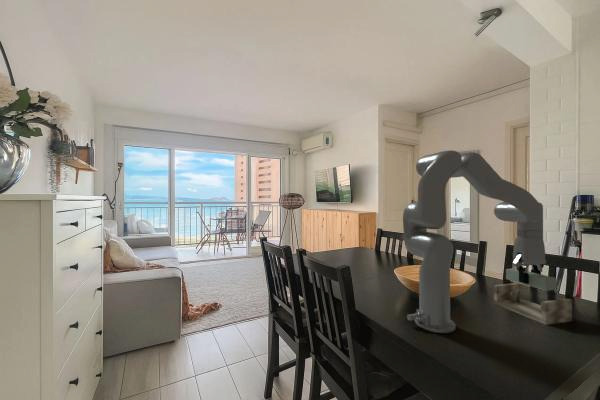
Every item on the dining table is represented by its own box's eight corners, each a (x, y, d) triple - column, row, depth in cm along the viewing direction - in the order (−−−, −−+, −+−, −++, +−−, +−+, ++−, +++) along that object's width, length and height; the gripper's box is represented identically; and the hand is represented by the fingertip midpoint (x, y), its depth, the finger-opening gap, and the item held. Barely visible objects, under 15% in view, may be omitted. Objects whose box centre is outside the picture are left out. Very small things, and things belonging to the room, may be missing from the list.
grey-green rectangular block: (506, 279, 106) (506, 269, 106) (515, 277, 108) (515, 268, 107) (546, 290, 93) (546, 279, 93) (556, 289, 94) (556, 278, 94)
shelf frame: (545, 324, 90) (545, 302, 90) (494, 303, 108) (494, 285, 108) (572, 320, 92) (572, 299, 92) (517, 300, 111) (517, 282, 111)
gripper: (536, 232, 105) (536, 277, 106) (501, 234, 102) (502, 280, 102) (558, 234, 98) (558, 283, 98) (522, 236, 94) (522, 287, 95)
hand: (529, 281), depth 100 cm, fingers closed on grey-green rectangular block, 5 cm apart
